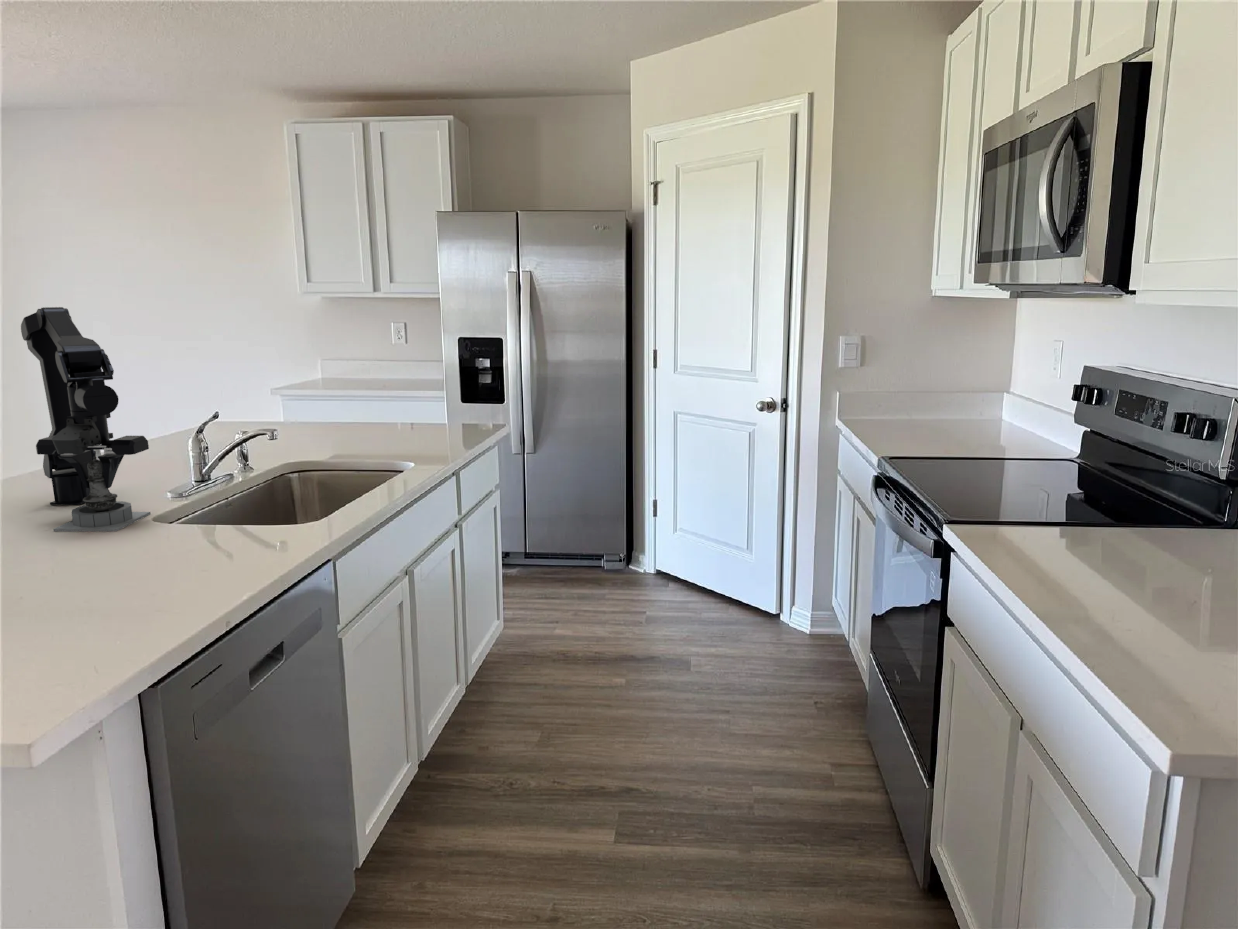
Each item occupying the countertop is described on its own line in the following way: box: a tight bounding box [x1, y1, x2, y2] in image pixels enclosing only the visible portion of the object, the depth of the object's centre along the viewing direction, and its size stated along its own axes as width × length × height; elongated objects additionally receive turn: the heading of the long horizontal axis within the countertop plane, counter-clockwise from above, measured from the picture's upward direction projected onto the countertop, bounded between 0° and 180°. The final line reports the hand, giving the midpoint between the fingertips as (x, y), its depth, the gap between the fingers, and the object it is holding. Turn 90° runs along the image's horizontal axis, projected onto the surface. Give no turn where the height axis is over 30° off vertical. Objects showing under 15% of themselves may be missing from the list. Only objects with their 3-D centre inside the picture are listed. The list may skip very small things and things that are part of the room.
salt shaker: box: [83, 456, 118, 513], centre depth 163 cm, size 6×6×12 cm
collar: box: [52, 500, 151, 532], centre depth 164 cm, size 12×12×3 cm
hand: (98, 487), depth 163 cm, fingers closed on salt shaker, 3 cm apart
